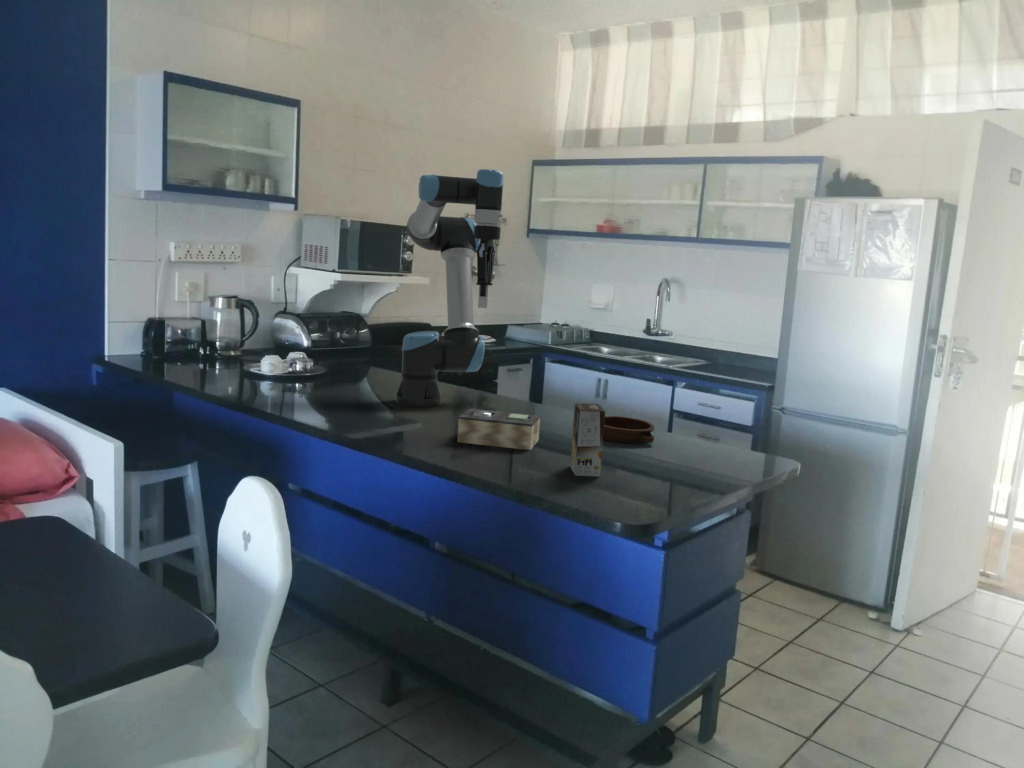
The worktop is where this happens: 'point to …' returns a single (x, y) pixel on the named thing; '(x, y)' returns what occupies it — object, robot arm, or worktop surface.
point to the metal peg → (482, 413)
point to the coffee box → (587, 439)
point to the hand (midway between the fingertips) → (483, 307)
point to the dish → (627, 430)
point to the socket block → (498, 430)
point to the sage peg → (518, 417)
